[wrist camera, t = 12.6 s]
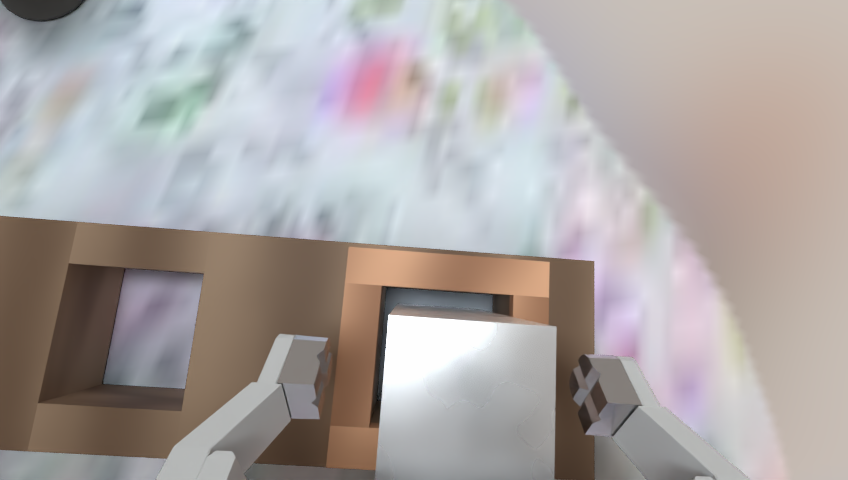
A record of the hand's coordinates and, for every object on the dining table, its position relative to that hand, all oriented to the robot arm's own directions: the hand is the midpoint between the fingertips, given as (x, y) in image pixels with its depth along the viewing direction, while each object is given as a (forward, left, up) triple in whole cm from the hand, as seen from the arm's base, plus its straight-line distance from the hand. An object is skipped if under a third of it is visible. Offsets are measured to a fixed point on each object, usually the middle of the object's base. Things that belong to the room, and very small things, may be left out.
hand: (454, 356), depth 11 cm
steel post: (0, -1, -7) cm, 7 cm away
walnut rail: (-6, -3, -7) cm, 9 cm away
